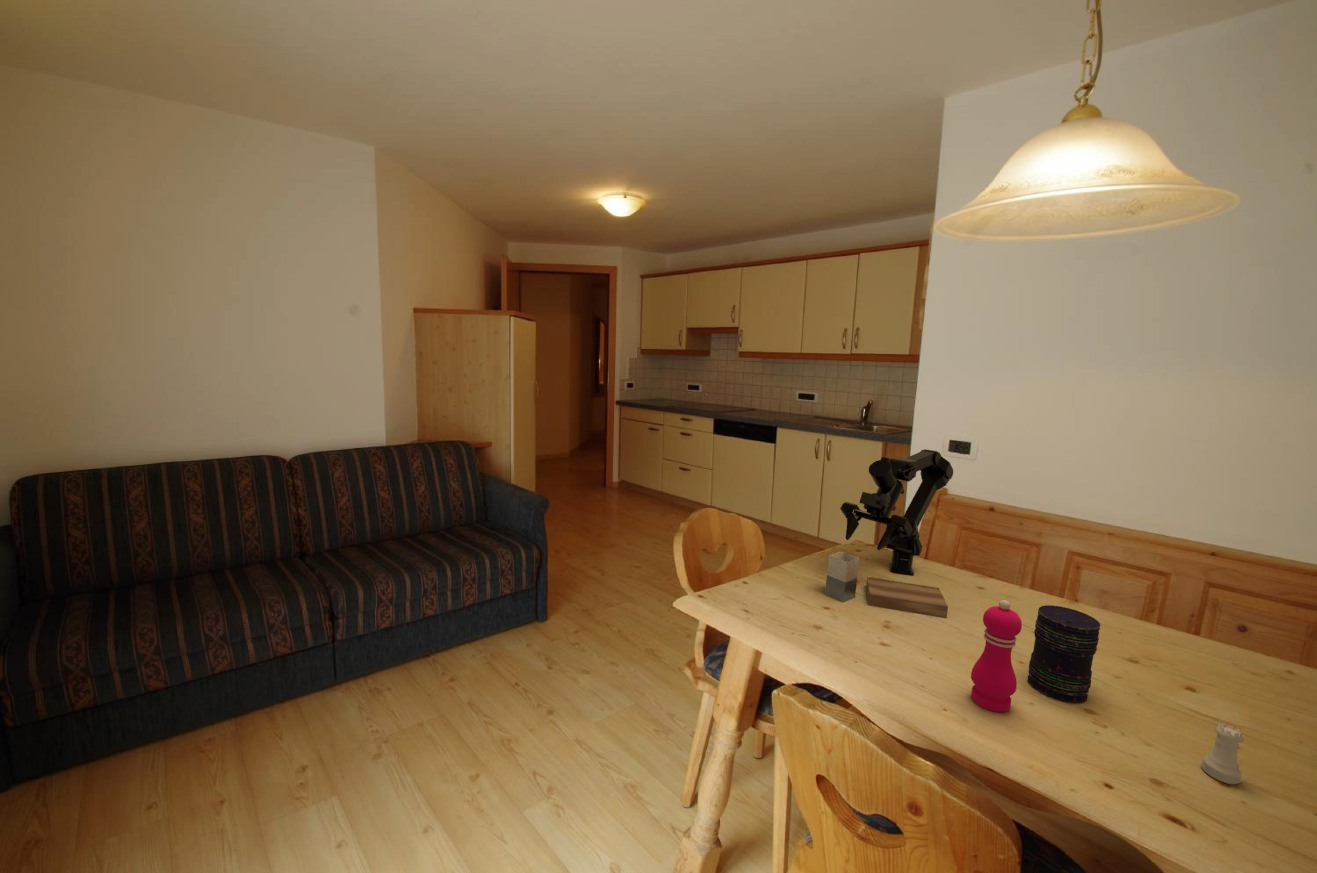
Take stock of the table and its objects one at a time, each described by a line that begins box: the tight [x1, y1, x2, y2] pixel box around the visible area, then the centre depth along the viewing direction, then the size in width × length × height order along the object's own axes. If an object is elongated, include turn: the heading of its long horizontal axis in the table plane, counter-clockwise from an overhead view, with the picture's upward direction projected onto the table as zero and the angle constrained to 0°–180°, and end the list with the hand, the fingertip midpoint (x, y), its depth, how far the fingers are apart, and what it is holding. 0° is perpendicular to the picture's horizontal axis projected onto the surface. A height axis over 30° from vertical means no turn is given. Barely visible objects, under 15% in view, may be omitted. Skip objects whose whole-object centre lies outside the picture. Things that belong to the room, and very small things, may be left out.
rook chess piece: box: [1200, 723, 1245, 785], centre depth 86 cm, size 4×4×8 cm
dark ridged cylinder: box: [1026, 604, 1101, 705], centre depth 107 cm, size 10×10×15 cm
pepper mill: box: [970, 599, 1023, 713], centre depth 101 cm, size 7×7×20 cm
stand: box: [865, 576, 949, 619], centre depth 144 cm, size 12×18×3 cm, turn 73°
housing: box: [824, 551, 860, 603], centre depth 145 cm, size 6×6×11 cm
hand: (861, 544), depth 148 cm, fingers open, 9 cm apart
